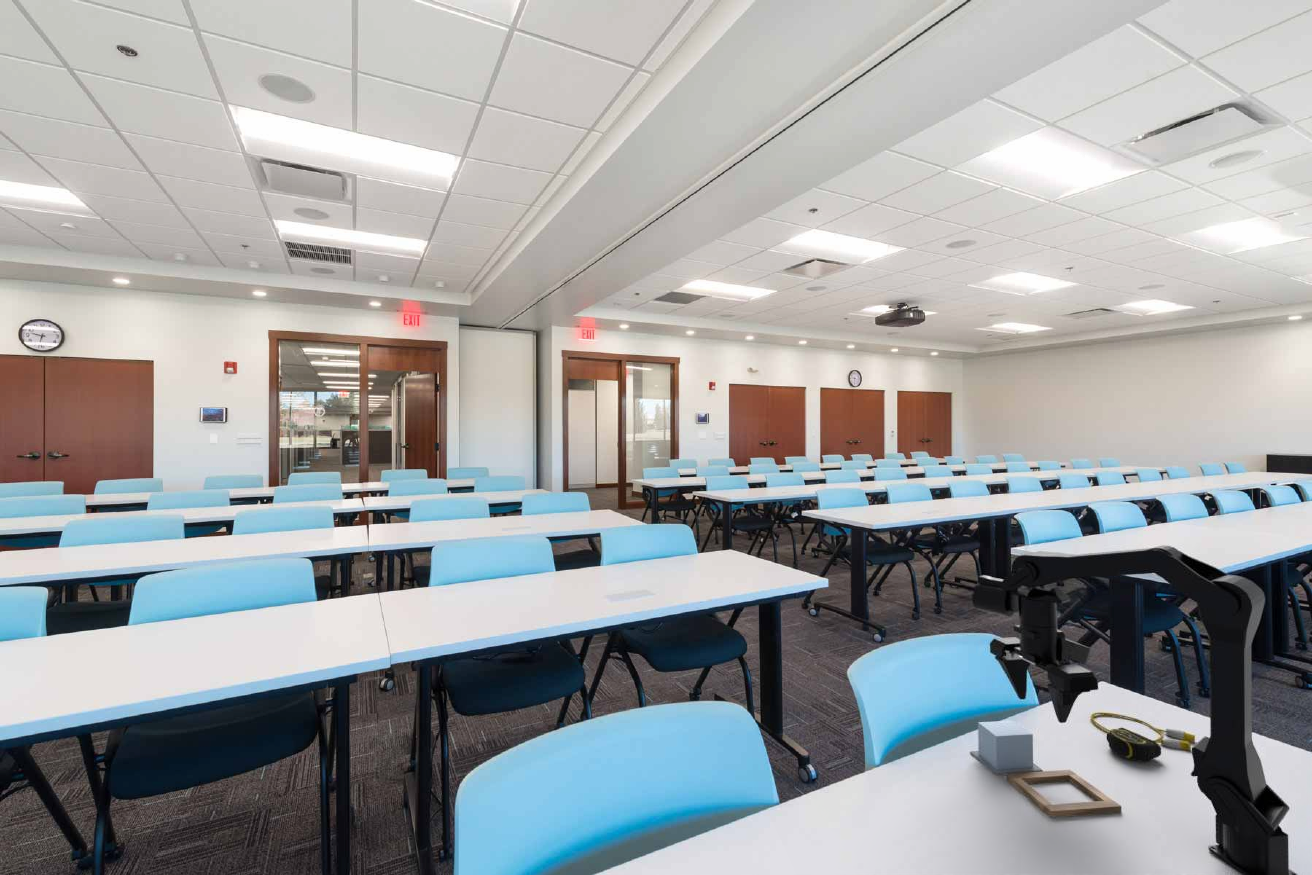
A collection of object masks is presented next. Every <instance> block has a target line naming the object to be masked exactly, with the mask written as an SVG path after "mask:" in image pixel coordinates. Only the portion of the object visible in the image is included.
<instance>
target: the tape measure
mask: <svg viewBox="0 0 1312 875" xmlns="http://www.w3.org/2000/svg"><path fill="white" fill-rule="evenodd" d="M1109 730H1110V732H1109V731H1108V732H1109V733H1107V734H1106V742H1107V743H1108V746H1109V747H1108V748H1110V750H1112V751H1113V752H1114V753H1115V754H1117V755H1119V756H1121V757H1123V758H1126V759H1129V760H1131V761H1136V762H1145V763H1146V762H1151V761H1153V760H1154V759H1156V758H1159V757H1160V756H1161V755H1162V747H1161V745H1160V743H1156V742H1154V741H1152V739H1150V738H1147V737H1146V736H1144V735H1141V734H1139V733H1137V732H1134V731H1132V730H1129V729H1127V728H1125V727H1121V726H1120V727H1119V728H1113V729H1109Z"/></svg>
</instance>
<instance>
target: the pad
mask: <svg viewBox="0 0 1312 875" xmlns="http://www.w3.org/2000/svg"><path fill="white" fill-rule="evenodd" d="M969 754H971V755H972V756H973V757H974V758H975V759H977V761H979V762H980V763H981V764H982V765H984V766H985V767H986V769H988V770H989V771H991V772H992V773H993V774H994V775H996V776H997V775H1007V774H1011V773H1026V772H1041V771H1044V770H1043V769H1042V768H1040V766H1038V765H1037V764H1035V763H1034V762H1033V767H1029V768H1013V769H995V768H994V767H993V766H992V765H991V764H990V763H988V762H987V761H986V760H985V759H984V758H983V757H981V756H980V755H979V751H978V750H971V751H970V752H969Z"/></svg>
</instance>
